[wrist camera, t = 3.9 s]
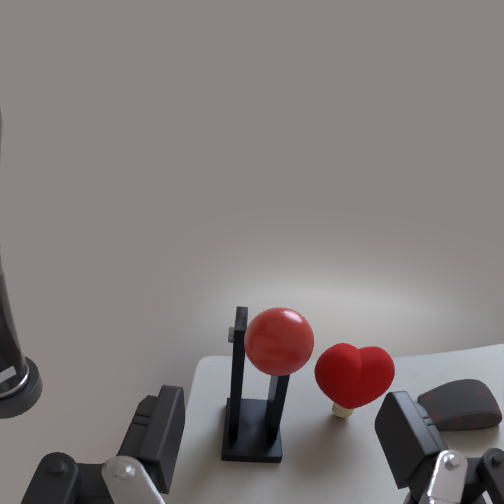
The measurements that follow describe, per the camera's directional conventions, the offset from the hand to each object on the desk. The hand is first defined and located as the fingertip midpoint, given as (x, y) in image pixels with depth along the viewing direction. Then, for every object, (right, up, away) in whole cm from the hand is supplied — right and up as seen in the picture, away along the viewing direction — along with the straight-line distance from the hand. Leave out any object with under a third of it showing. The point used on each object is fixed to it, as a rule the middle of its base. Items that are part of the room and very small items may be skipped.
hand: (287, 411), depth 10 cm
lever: (0, -2, +10) cm, 10 cm away
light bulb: (+10, -14, +22) cm, 28 cm away
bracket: (-1, -14, +19) cm, 24 cm away
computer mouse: (+27, -17, +19) cm, 37 cm away
